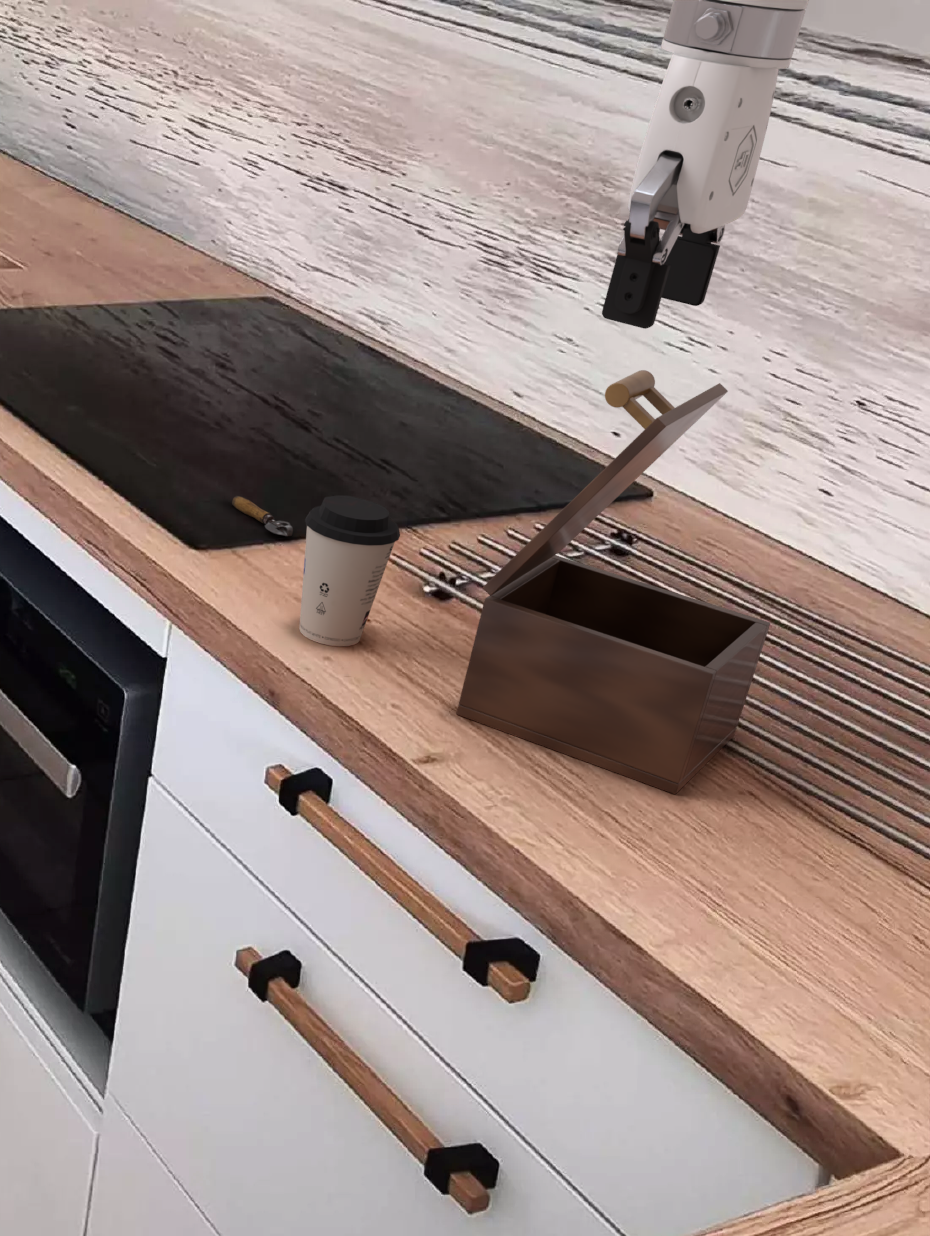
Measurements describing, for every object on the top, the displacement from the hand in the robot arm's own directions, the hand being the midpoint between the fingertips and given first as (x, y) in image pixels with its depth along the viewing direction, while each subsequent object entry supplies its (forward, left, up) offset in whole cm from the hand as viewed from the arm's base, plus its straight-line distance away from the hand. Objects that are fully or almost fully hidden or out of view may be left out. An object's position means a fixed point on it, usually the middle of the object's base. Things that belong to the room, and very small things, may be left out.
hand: (652, 311), depth 128 cm
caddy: (-3, +2, -29) cm, 29 cm away
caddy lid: (0, 0, -12) cm, 12 cm away
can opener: (+23, -28, -29) cm, 46 cm away
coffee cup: (+16, -6, -29) cm, 33 cm away
